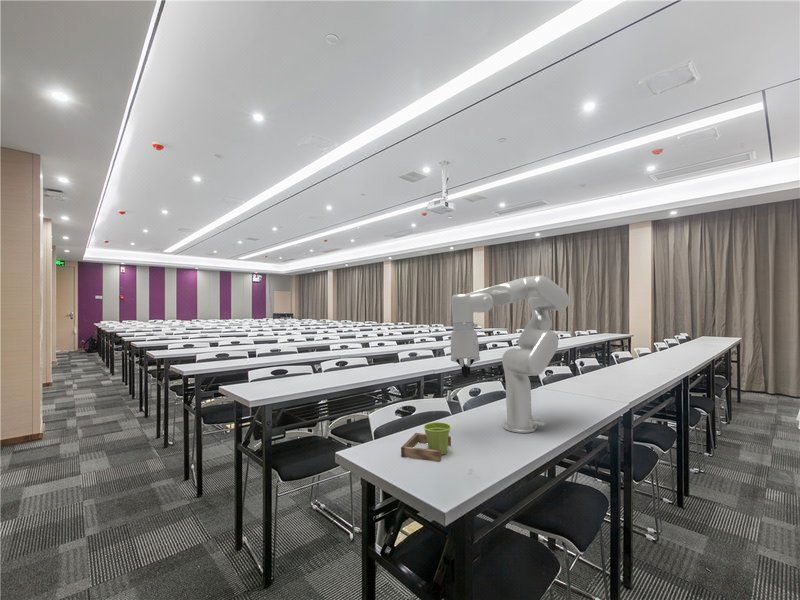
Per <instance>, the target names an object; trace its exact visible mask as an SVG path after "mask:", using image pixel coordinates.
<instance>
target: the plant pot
mask: <svg viewBox="0 0 800 600" xmlns="http://www.w3.org/2000/svg"><path fill="white" fill-rule="evenodd" d="M451 428H452V425H450V424H449V423H446V422H440V421H439V422H428V423H426V424H424V425H423V429H424V432H425V433H424V434H426V436H427V442H428V444H427V447H428V448H427V449H431V450H439V451H441V455H444V456H445V455H446V454H447V453H448V447H449V446H448V437H449V436H450V432H451Z"/></svg>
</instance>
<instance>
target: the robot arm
mask: <svg viewBox="0 0 800 600" xmlns="http://www.w3.org/2000/svg"><path fill="white" fill-rule="evenodd" d="M527 298H529V306H530V307H529V308H530V311H531V312H530V313H531V318H530V320H529V322H528V323H527V325H526V326H525V328H524V329H523V331H522V333H521V334H520V335H519V337H518V341H517V343H518V346H519V348H515V347H513V348H508V349H507V350H505V352H504V353H503V354H502V358H501V361H502V368H503V371H504V379H505V399H506V406H505V407H506V421H505V422H504V423H503V424H502V426H503V428H504V430H506V431H508V432H511V433H512V432H513V433H519V434H526V433H527V434H528V433H533V432H536V430H537V426H540V427H545V421H544V420H542V419H535V418H534V415H533V414H532V413H533V411H532V410H533V409H532V388H531V386H532V385H531V381H530V377H529V376H533V377H535V376H536V377H537V376H539V375H541V374H542V373H543V372H544V371H545V369H546V368H547V367H548V366H549V364H550V362H551V360H552V359H553V357H554V356H555V354H556V352H557V350H558V349H559V348H558V347H559V338H558V335H557V333H556V332H555V331H553V330H551V328H552V320H551V318H550V317H551V316H550V314H549V311H563V310H564V309H566V308H567V307H568V306H569V304H570V303H569V302H570V297H569V295H568V293H567V291H565V290H564V289H563V288H562V287H561V286H559V285H558V284H557V283H555V282H554V281H553V280H552V279H550V278H549V277H547V276H544V275H539V274H538V275H533V276H530V275H529V276H524V277H520V278H517V279H513V280H511V281H506V282H503V283H500V284H496V285H492V286H489V287H486V288H481V289H478V290H474V291H471V292H467V293H461V294H460V293H459V294H453V295H452V296H451V316H452V331H451V333H450V334H451V335H450V361H451V362H454V363H457V364H458V365H459V366H460V367H461V376H463V378H464V379H465V378H466V379H467V378H469V377H470V376H471V373H472V372H471V366H472V365H473V363H475V362H478V361H481V357H480V346H479V338H478V333H477V330H475V329H476V328H479V327H478V325H479V324H478V323H474V313H477V314H479V313H487V312H489V311H490V310H492V308H493V306H494V307H496V306H498V307H499V306H505V305H510V304H512V303H516V302H519V301H521V300H524V299H527ZM465 359H466V363H465Z"/></svg>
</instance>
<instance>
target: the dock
mask: <svg viewBox="0 0 800 600" xmlns="http://www.w3.org/2000/svg"><path fill="white" fill-rule="evenodd" d="M418 442H419V443H420V444H426V443H428V442H427V436H426V433H420V432H415V433H414V434H413V435H412V436H411V437H410V438H408V440H407V441H406V442H405V443H404V444H403V445H401V447H400V451H401V452H400V453H401V455H400V456H402V457H401V458H407V457H409V459H416V460H425V461H431V462H440V463H441V461H442V454H441V451H439V450H431V449H429V448H422V447H415V446H417V444H419V443H418ZM451 445H452V436H450V435H449V437H448V447H451ZM413 447H414V448H413Z"/></svg>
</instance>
